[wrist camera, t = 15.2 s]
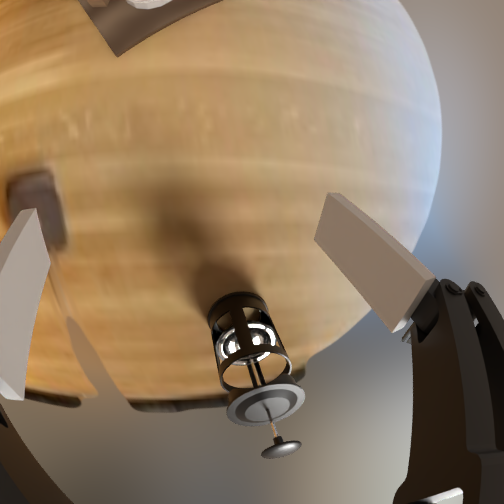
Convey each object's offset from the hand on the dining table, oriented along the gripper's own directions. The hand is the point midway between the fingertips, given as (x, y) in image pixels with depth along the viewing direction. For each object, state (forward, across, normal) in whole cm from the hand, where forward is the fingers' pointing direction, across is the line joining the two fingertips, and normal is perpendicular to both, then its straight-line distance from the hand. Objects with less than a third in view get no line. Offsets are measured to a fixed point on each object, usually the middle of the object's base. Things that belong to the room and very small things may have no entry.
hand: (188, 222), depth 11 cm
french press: (+16, +11, -27) cm, 33 cm away
